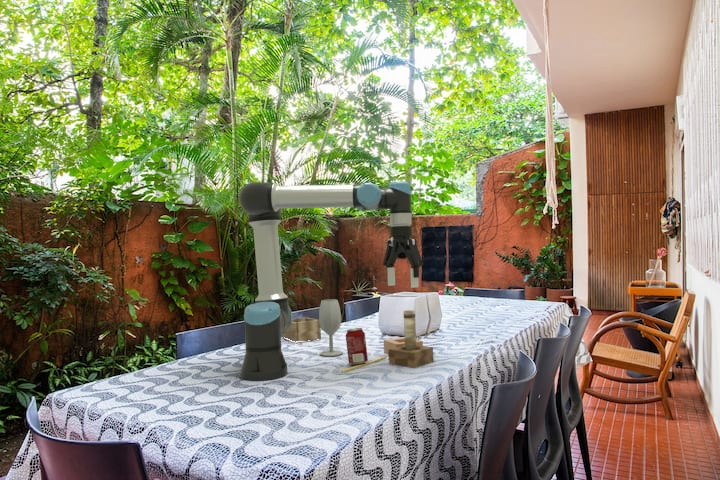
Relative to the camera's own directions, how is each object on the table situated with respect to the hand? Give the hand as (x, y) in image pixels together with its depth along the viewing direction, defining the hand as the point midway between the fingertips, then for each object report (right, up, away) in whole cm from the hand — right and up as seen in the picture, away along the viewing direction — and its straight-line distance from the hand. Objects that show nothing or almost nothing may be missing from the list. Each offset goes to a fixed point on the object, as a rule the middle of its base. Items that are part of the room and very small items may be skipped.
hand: (402, 286), depth 176 cm
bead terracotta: (+2, -27, +15) cm, 31 cm away
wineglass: (-26, -28, +18) cm, 43 cm away
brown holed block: (+3, -27, -1) cm, 27 cm away
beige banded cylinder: (+3, -27, -1) cm, 27 cm away
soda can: (-15, -27, 0) cm, 31 cm away
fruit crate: (-42, -29, +54) cm, 74 cm away
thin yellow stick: (-13, -27, -1) cm, 30 cm away
